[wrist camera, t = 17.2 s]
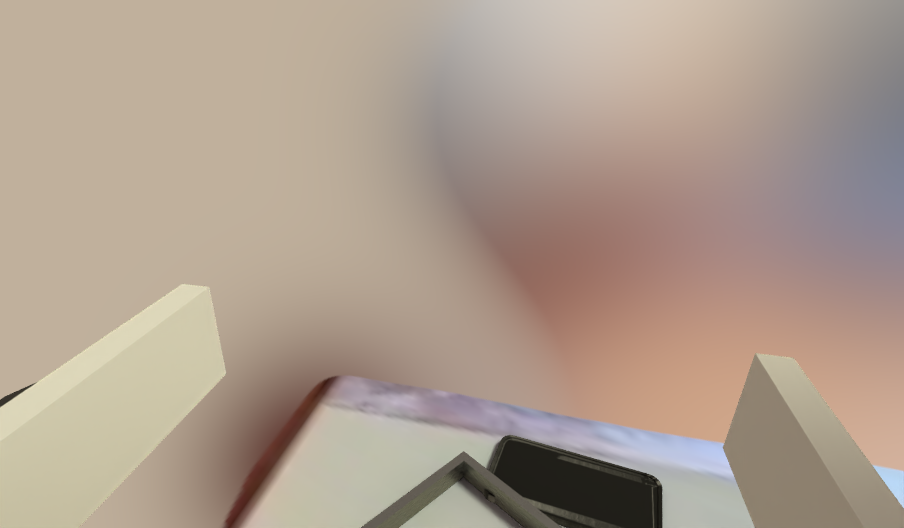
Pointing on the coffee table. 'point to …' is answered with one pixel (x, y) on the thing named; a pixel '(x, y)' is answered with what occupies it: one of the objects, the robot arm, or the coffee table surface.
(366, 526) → the holder frame
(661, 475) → the coffee table surface
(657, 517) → the phone
